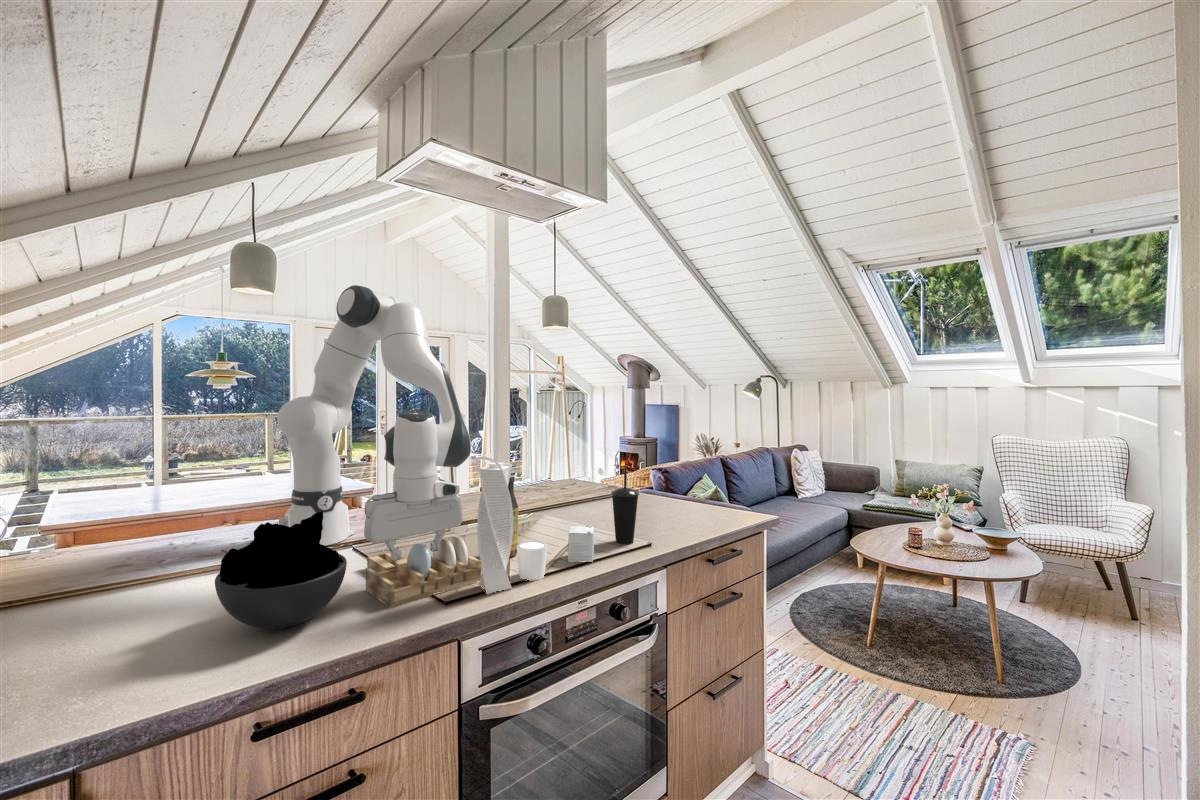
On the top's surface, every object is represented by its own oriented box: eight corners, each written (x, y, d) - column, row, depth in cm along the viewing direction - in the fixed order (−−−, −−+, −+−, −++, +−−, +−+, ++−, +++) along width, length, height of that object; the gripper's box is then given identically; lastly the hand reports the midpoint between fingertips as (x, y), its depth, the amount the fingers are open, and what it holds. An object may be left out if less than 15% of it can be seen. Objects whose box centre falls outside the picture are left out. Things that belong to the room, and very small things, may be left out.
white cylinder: (510, 576, 119) (510, 545, 119) (533, 568, 124) (534, 538, 124) (529, 584, 114) (530, 552, 114) (553, 575, 119) (553, 545, 119)
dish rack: (365, 590, 110) (365, 547, 110) (452, 567, 124) (453, 528, 124) (390, 608, 101) (390, 561, 101) (481, 581, 116) (481, 540, 115)
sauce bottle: (512, 560, 129) (513, 479, 129) (488, 558, 131) (488, 477, 130) (521, 551, 136) (522, 474, 135) (498, 549, 137) (499, 473, 136)
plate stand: (367, 568, 122) (367, 556, 122) (392, 562, 126) (392, 551, 126) (386, 581, 115) (386, 568, 115) (412, 574, 119) (412, 562, 119)
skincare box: (570, 554, 134) (570, 525, 134) (594, 555, 134) (594, 526, 134) (567, 562, 128) (568, 532, 128) (592, 563, 128) (593, 533, 128)
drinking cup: (620, 536, 150) (621, 465, 150) (643, 541, 146) (644, 468, 145) (605, 542, 144) (605, 469, 144) (628, 548, 140) (629, 472, 139)
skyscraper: (481, 597, 107) (482, 459, 106) (469, 585, 113) (470, 454, 112) (518, 590, 111) (519, 456, 110) (505, 578, 117) (505, 452, 116)
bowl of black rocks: (215, 665, 81) (214, 542, 80) (215, 617, 97) (213, 514, 96) (357, 630, 92) (357, 523, 92) (336, 592, 108) (335, 501, 108)
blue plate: (403, 574, 114) (412, 538, 114) (408, 574, 115) (417, 538, 115) (419, 590, 108) (429, 552, 108) (424, 589, 109) (434, 552, 109)
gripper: (371, 499, 101) (371, 570, 101) (466, 485, 115) (466, 548, 116) (358, 493, 105) (358, 562, 106) (451, 481, 120) (451, 541, 120)
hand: (415, 554), depth 111 cm, fingers open, 7 cm apart
